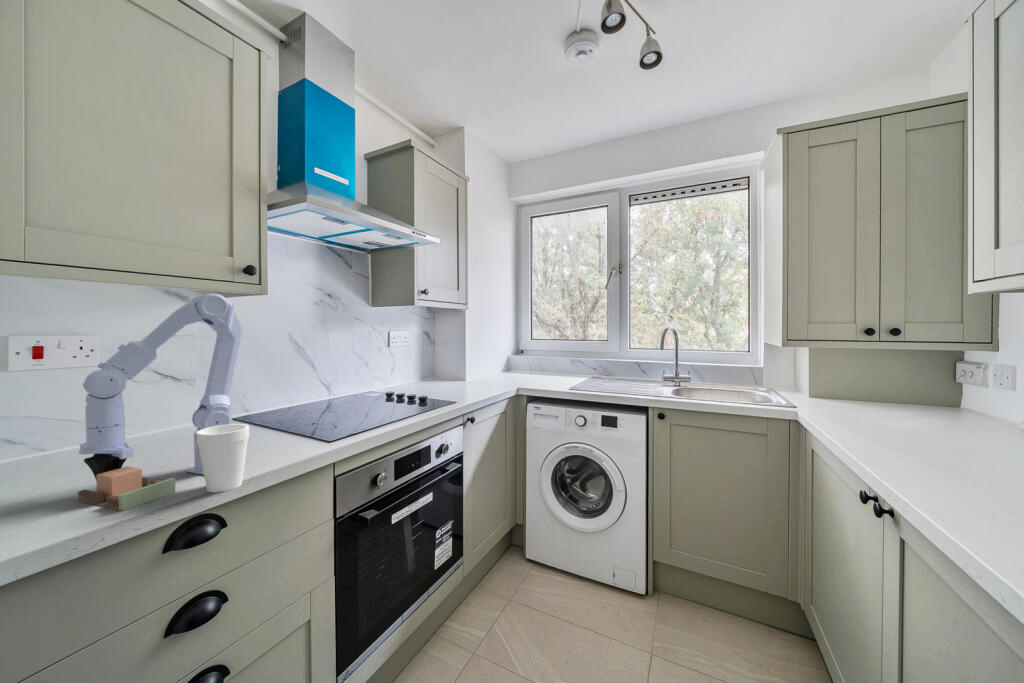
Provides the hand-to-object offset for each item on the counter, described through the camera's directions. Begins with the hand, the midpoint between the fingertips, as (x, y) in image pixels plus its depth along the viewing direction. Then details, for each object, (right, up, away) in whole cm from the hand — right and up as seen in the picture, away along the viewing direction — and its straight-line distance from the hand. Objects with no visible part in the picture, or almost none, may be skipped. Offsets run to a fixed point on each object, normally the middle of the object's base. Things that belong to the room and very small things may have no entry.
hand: (107, 487), depth 82 cm
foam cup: (+23, -1, +3) cm, 23 cm away
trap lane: (+7, -1, -2) cm, 7 cm away
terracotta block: (+4, -1, -1) cm, 4 cm away
